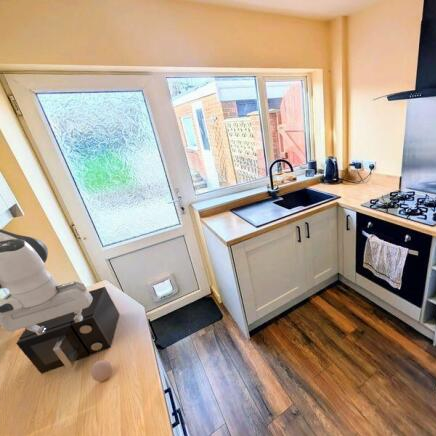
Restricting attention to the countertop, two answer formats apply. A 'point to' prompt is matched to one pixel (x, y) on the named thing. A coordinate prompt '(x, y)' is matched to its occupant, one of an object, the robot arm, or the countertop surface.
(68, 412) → the countertop surface
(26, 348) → the microwave door
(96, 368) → the egg
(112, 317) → the microwave
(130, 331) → the countertop surface
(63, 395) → the countertop surface
